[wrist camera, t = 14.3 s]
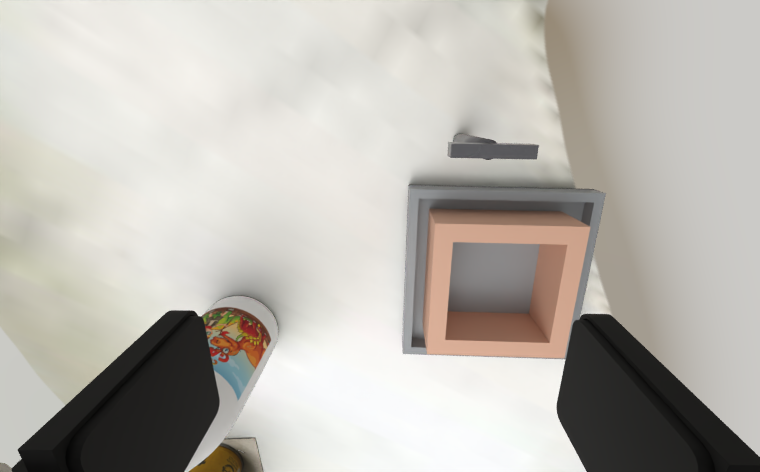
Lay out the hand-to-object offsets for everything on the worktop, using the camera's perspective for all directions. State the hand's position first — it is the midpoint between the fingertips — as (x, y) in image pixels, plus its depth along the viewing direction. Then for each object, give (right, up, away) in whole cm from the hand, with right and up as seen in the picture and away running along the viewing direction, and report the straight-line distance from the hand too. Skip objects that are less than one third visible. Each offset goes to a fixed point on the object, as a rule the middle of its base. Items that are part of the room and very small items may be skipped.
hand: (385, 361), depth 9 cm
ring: (+10, 0, +26) cm, 28 cm away
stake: (+7, +12, +23) cm, 26 cm away
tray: (+11, 0, +26) cm, 28 cm away
